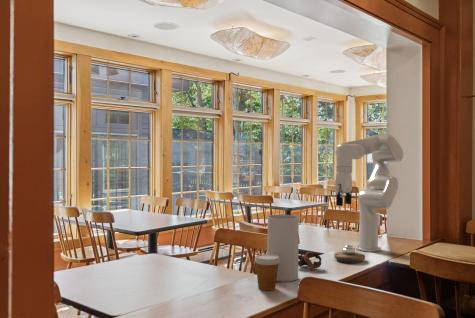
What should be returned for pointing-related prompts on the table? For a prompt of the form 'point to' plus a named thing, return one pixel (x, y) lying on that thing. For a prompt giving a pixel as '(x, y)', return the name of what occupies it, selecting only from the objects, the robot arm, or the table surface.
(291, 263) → the cylinder vase
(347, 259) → the disc
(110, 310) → the table surface
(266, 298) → the table surface
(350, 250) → the cover
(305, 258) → the brown ornate stand
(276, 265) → the disposable coffee cup
